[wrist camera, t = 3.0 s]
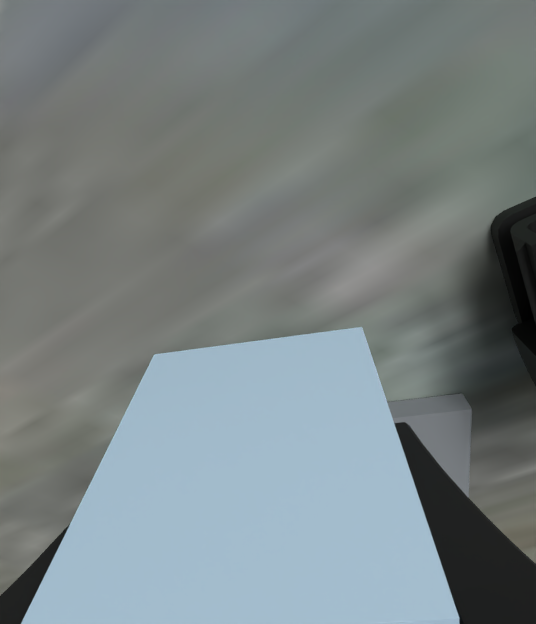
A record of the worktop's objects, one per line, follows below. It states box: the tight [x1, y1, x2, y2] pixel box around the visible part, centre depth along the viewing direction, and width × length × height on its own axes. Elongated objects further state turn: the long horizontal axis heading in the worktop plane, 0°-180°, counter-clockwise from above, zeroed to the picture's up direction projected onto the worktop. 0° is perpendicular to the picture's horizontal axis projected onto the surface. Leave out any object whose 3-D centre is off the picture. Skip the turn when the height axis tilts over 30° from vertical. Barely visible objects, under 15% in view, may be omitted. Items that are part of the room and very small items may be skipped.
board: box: [387, 393, 472, 498], centre depth 20 cm, size 10×10×1 cm
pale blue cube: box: [21, 327, 459, 624], centre depth 9 cm, size 5×5×7 cm
